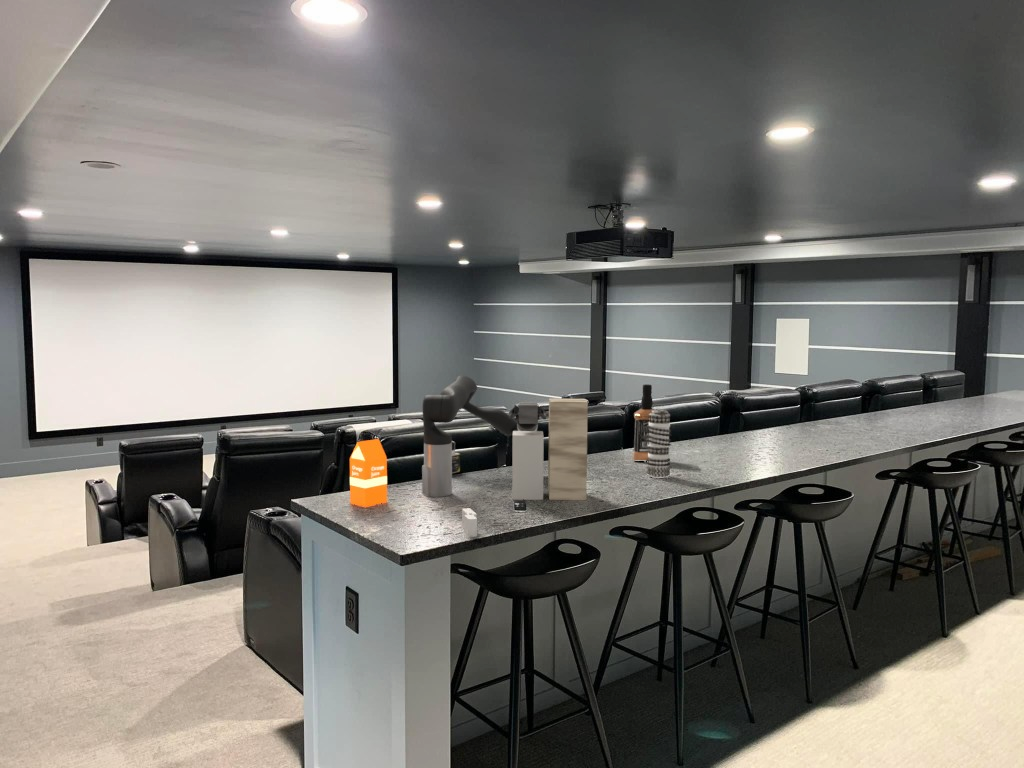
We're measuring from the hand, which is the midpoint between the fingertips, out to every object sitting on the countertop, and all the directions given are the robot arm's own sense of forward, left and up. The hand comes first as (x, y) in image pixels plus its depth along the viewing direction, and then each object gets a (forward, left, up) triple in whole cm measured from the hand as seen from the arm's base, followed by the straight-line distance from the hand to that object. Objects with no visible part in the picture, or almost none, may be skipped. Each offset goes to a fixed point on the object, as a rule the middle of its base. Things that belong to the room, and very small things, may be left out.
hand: (527, 405), depth 250 cm
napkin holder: (-37, -40, -30) cm, 62 cm away
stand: (+8, -15, -29) cm, 34 cm away
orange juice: (-54, +2, -30) cm, 62 cm away
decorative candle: (+55, 0, -29) cm, 62 cm away
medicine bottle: (-15, +39, -29) cm, 52 cm away
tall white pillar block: (-4, -9, -29) cm, 31 cm away
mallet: (-2, -5, -4) cm, 7 cm away
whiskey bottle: (+70, +30, -29) cm, 81 cm away
